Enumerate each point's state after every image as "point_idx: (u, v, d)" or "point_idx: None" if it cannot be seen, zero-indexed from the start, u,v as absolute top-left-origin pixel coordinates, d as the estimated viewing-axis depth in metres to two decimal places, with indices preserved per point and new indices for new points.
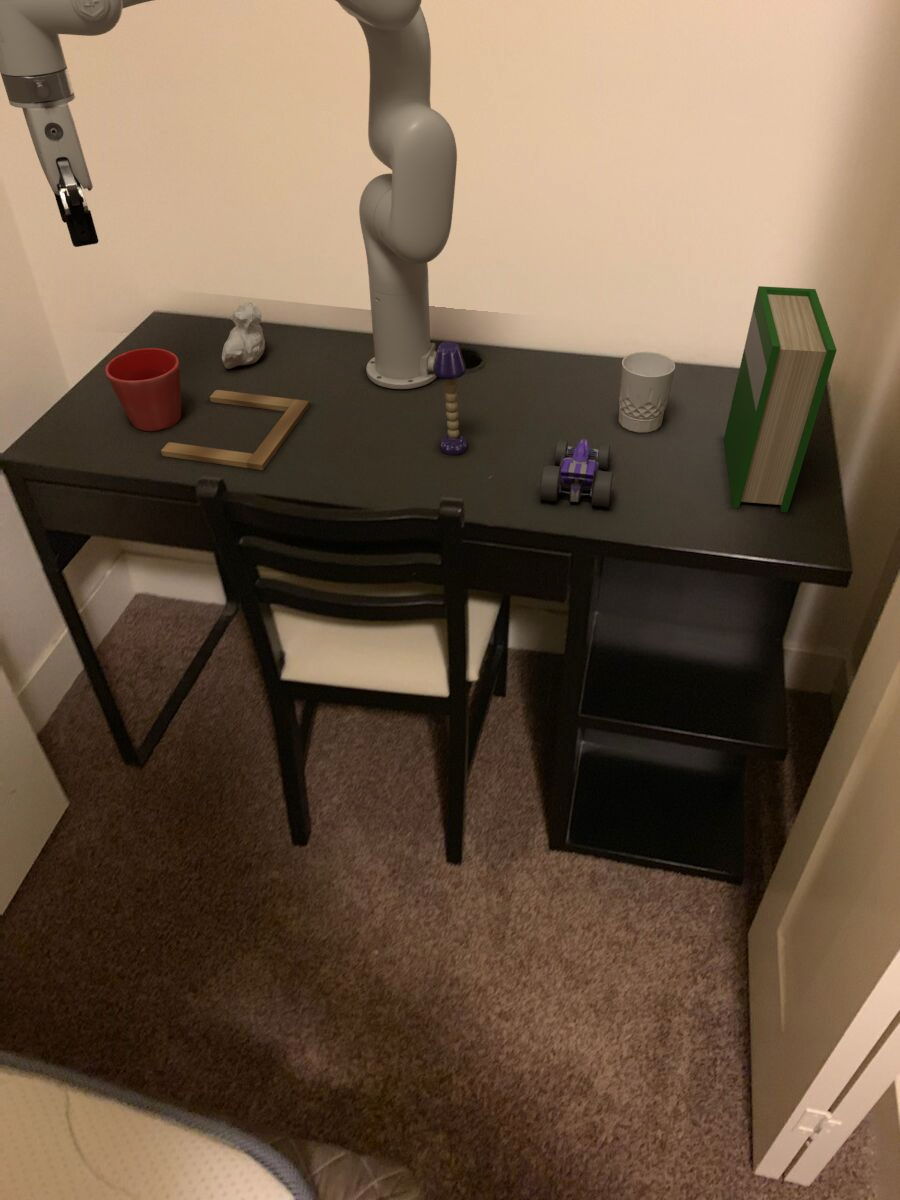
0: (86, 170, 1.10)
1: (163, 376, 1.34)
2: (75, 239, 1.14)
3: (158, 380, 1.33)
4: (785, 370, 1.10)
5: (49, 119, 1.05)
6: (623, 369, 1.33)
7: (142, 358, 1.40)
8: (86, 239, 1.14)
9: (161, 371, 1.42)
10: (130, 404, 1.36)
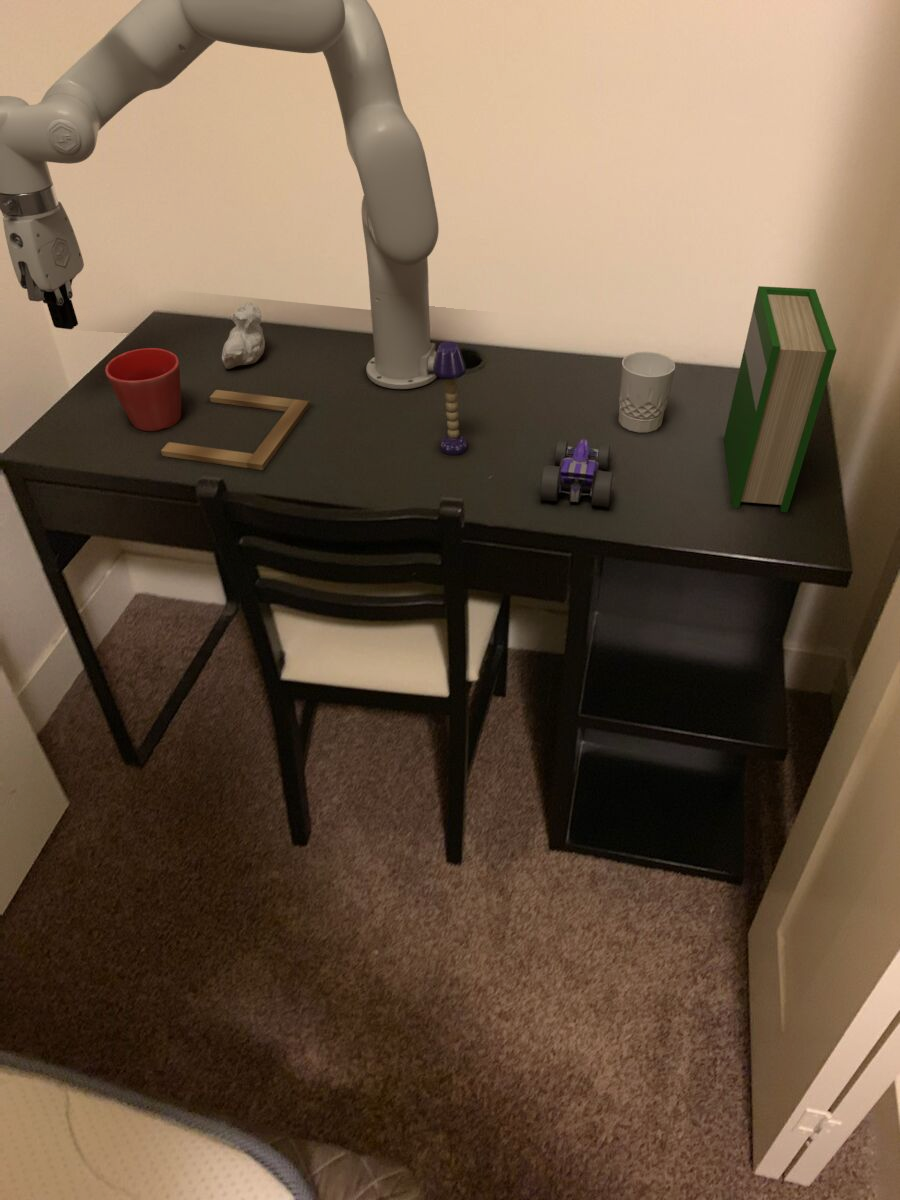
0: (42, 276, 1.24)
1: (163, 376, 1.34)
2: None
3: (158, 380, 1.33)
4: (785, 370, 1.10)
5: (13, 230, 1.21)
6: (623, 369, 1.33)
7: (142, 358, 1.40)
8: (60, 324, 1.33)
9: (161, 371, 1.42)
10: (130, 404, 1.36)
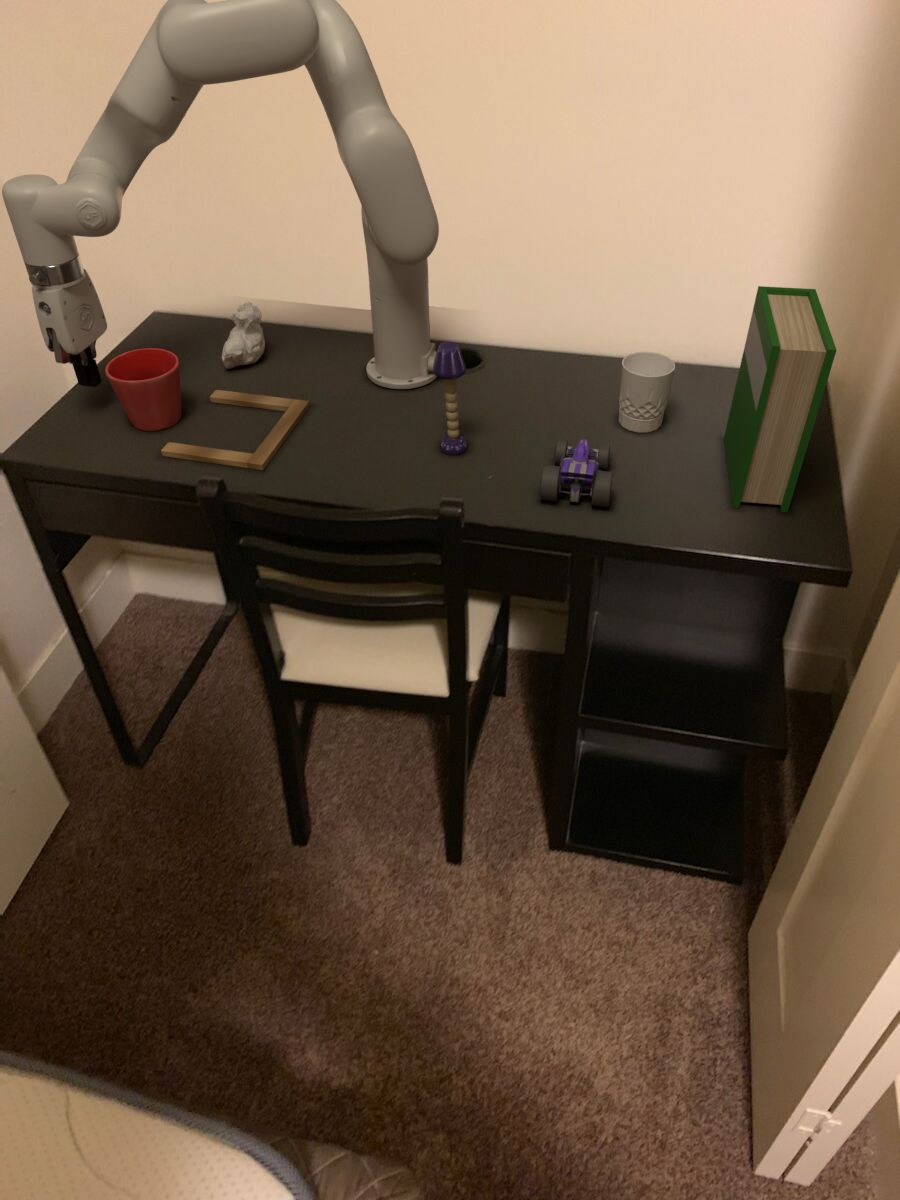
0: (69, 340, 1.31)
1: (163, 376, 1.34)
2: None
3: (158, 380, 1.33)
4: (785, 370, 1.10)
5: (42, 299, 1.27)
6: (623, 369, 1.33)
7: (142, 358, 1.40)
8: (84, 383, 1.40)
9: (161, 371, 1.42)
10: (130, 404, 1.36)
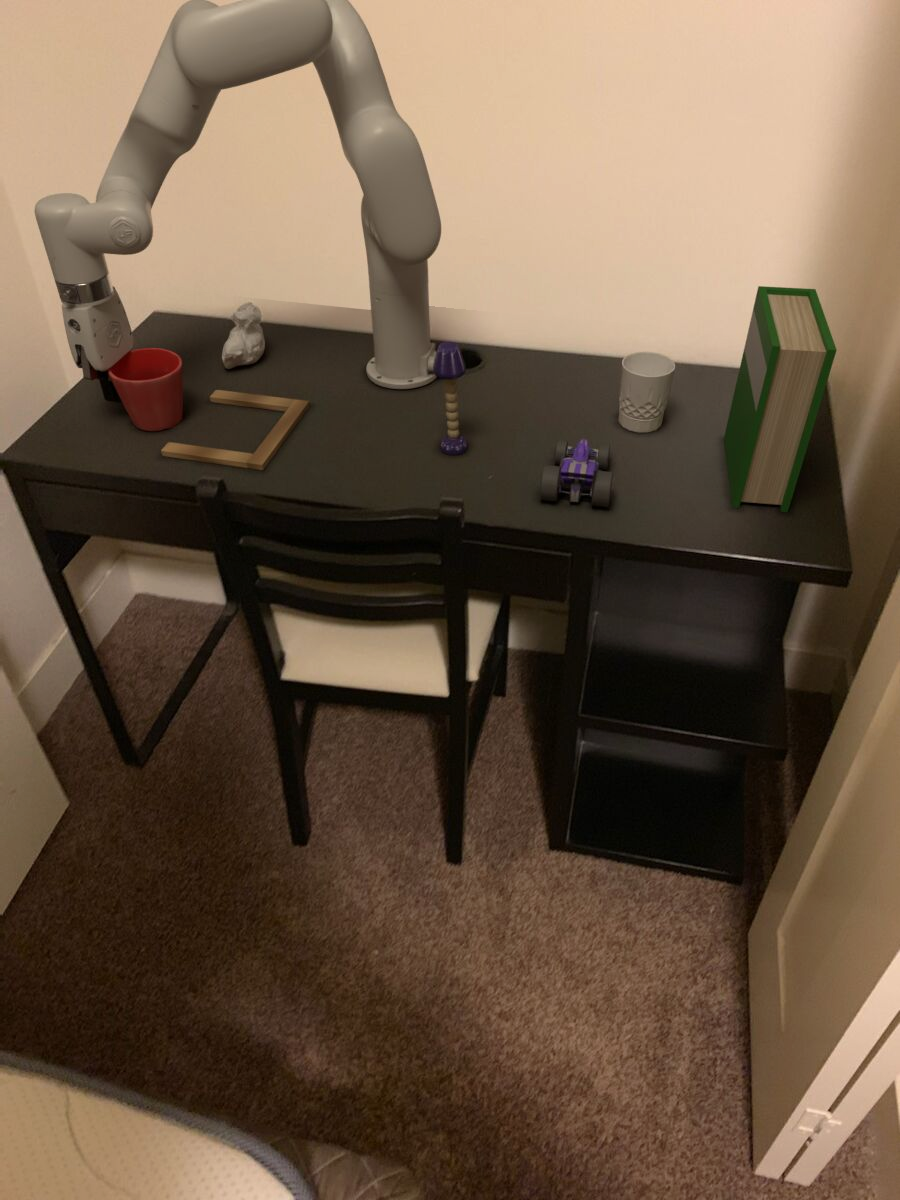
0: (97, 357, 1.31)
1: (167, 376, 1.34)
2: None
3: (162, 380, 1.33)
4: (785, 370, 1.10)
5: (71, 316, 1.28)
6: (623, 369, 1.33)
7: (144, 358, 1.40)
8: (111, 398, 1.40)
9: (163, 371, 1.42)
10: (133, 404, 1.36)
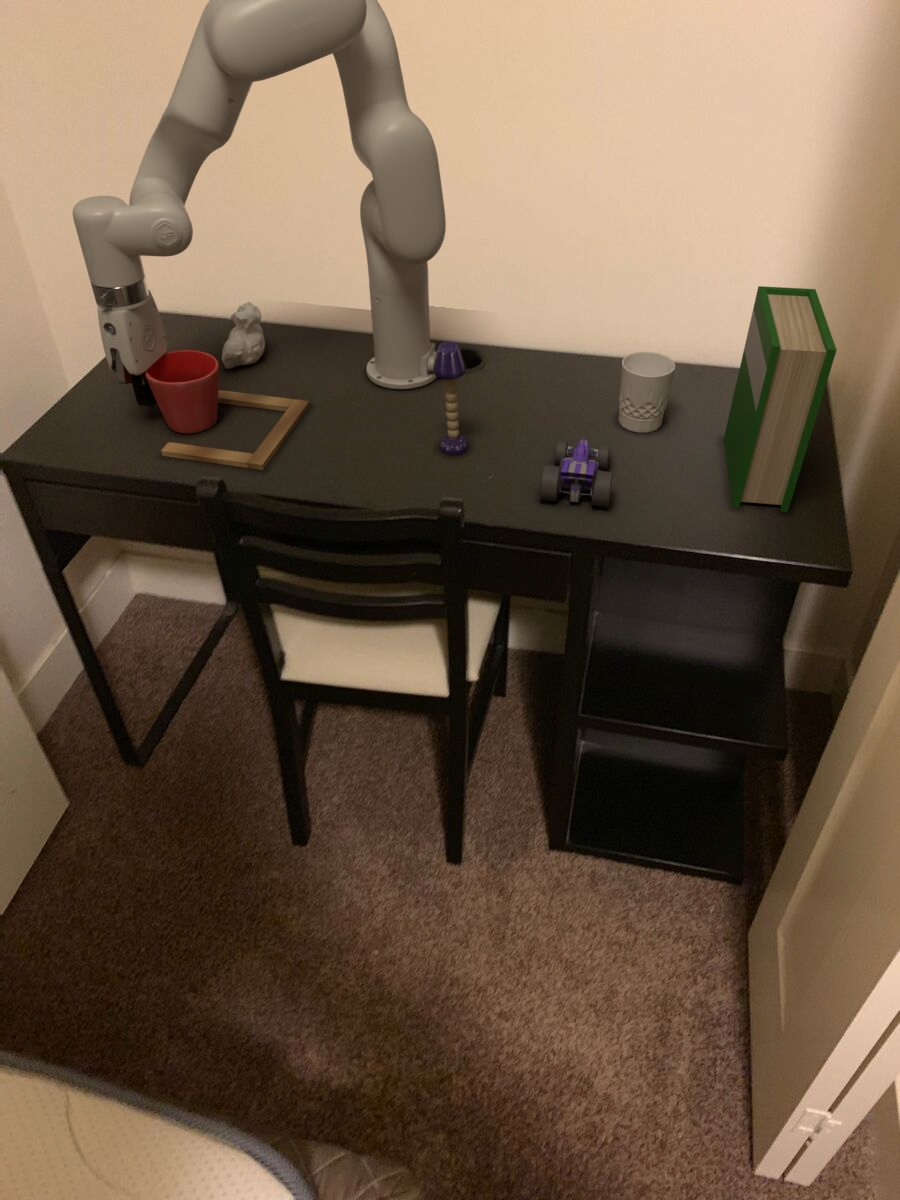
0: (132, 361, 1.30)
1: (208, 376, 1.34)
2: None
3: (204, 380, 1.33)
4: (785, 370, 1.10)
5: (107, 320, 1.27)
6: (623, 369, 1.33)
7: (175, 361, 1.39)
8: (144, 403, 1.39)
9: (194, 373, 1.41)
10: (173, 407, 1.35)
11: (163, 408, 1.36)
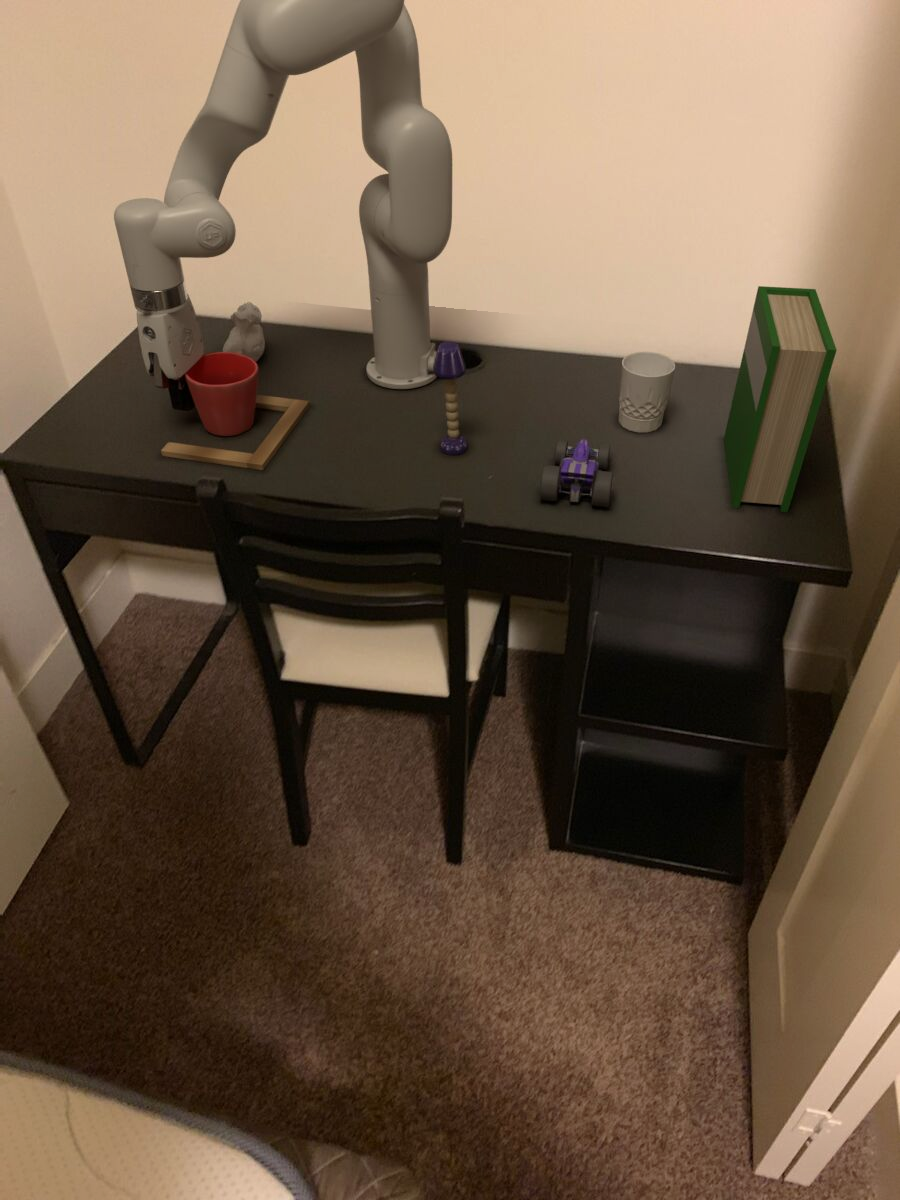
0: (171, 365, 1.29)
1: (252, 377, 1.33)
2: None
3: (248, 381, 1.33)
4: (785, 370, 1.10)
5: (147, 324, 1.25)
6: (623, 369, 1.33)
7: (208, 363, 1.38)
8: (179, 407, 1.37)
9: (227, 375, 1.40)
10: (217, 409, 1.34)
11: (205, 412, 1.35)
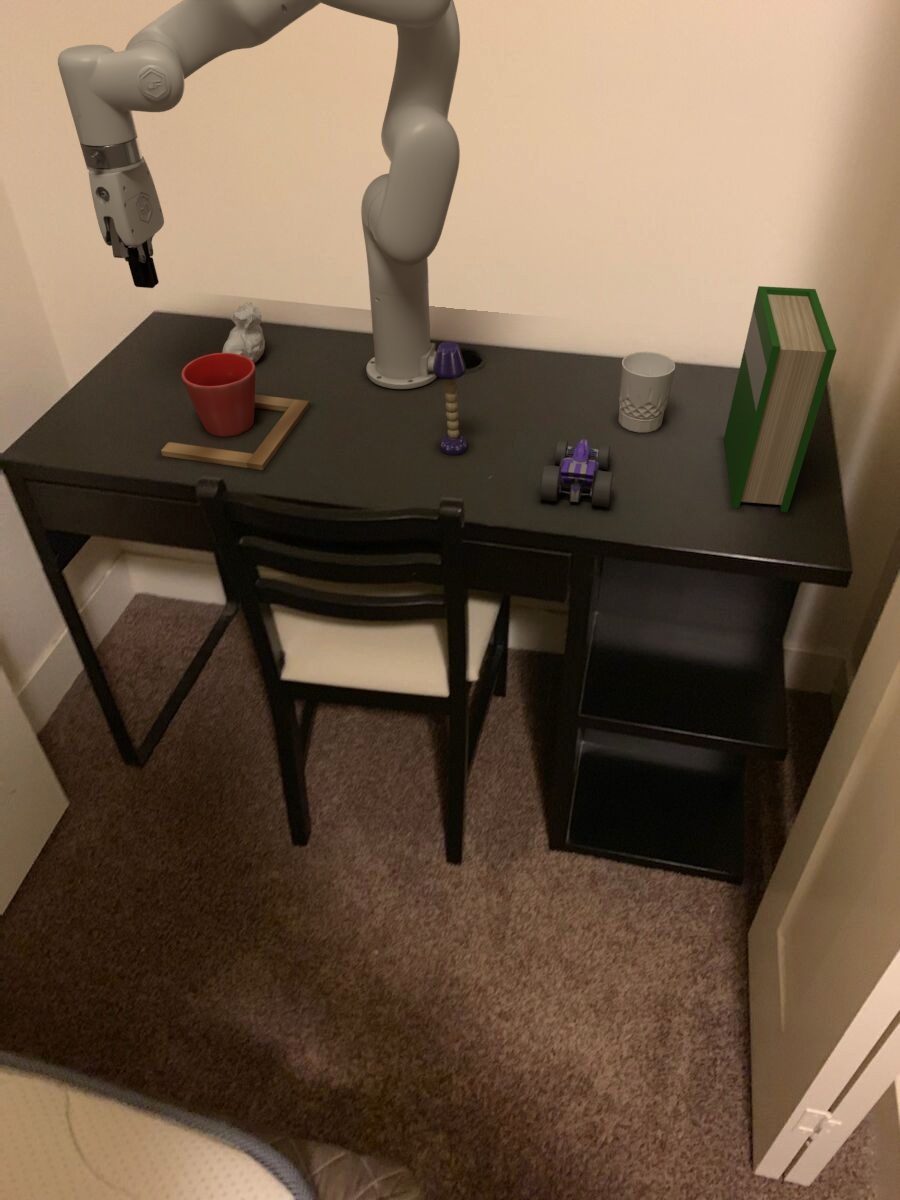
0: (128, 230, 1.22)
1: (248, 377, 1.33)
2: (136, 280, 1.32)
3: (244, 381, 1.33)
4: (785, 370, 1.10)
5: (100, 184, 1.19)
6: (623, 369, 1.33)
7: (207, 365, 1.38)
8: (141, 283, 1.31)
9: (227, 376, 1.40)
10: (215, 410, 1.34)
11: (203, 413, 1.35)
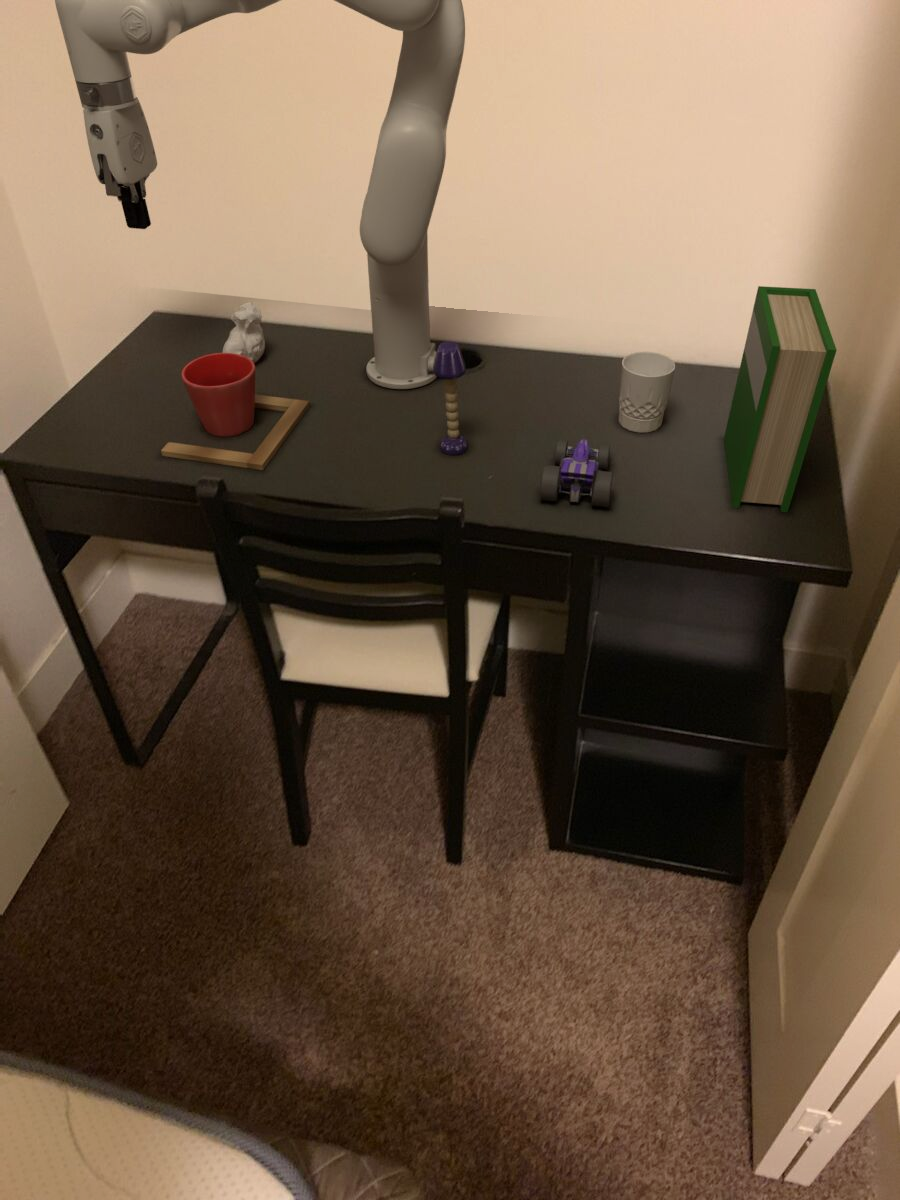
0: (121, 168, 1.26)
1: (248, 377, 1.33)
2: (128, 221, 1.36)
3: (244, 381, 1.33)
4: (785, 370, 1.10)
5: (94, 121, 1.23)
6: (623, 369, 1.33)
7: (207, 365, 1.38)
8: (134, 223, 1.35)
9: (227, 376, 1.40)
10: (215, 410, 1.34)
11: (203, 413, 1.35)
